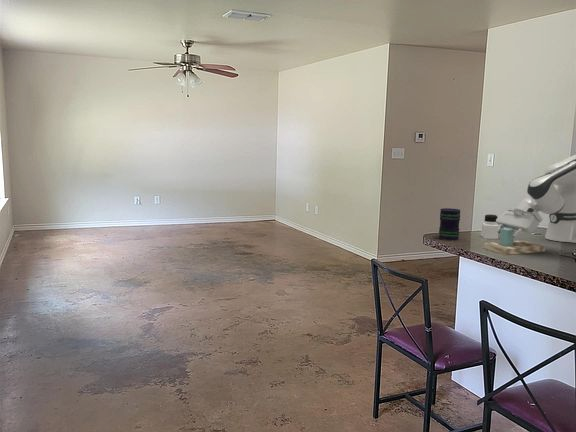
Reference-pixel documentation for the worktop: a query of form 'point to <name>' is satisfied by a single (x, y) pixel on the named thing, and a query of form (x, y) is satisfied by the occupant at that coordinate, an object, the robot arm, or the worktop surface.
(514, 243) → the keyhole board
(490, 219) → the medicine bottle
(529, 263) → the worktop surface
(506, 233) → the post
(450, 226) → the storage jar
